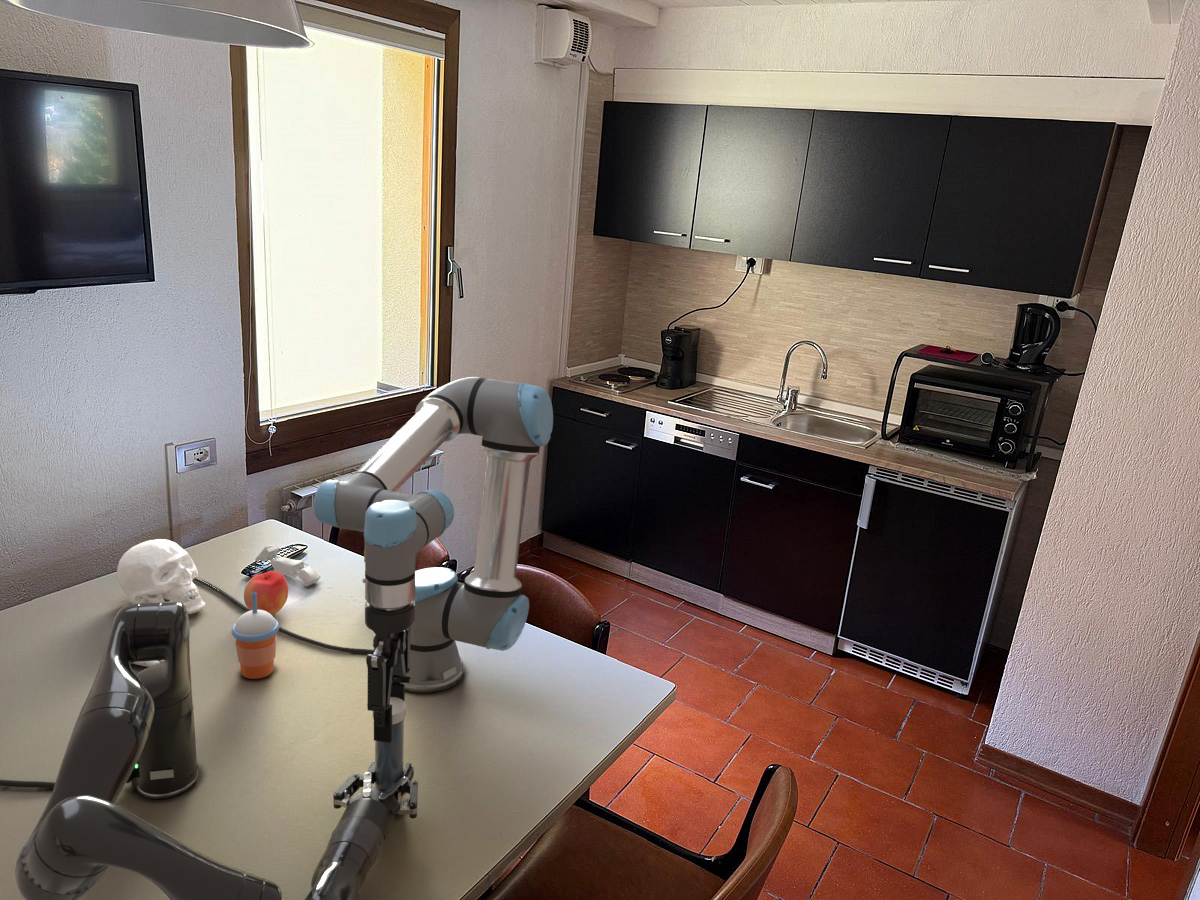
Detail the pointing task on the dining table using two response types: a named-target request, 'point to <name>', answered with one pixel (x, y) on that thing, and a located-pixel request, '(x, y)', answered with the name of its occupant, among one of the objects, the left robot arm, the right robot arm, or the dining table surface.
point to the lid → (397, 710)
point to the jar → (390, 759)
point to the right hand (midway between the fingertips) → (389, 729)
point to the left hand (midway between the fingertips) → (394, 765)
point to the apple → (267, 592)
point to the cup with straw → (256, 641)
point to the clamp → (288, 565)
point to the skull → (159, 574)
